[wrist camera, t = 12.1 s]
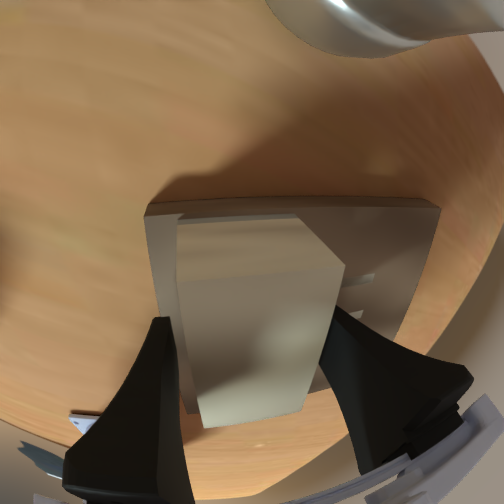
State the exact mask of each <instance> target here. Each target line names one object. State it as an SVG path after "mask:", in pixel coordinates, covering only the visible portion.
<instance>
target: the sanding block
mask: <svg viewBox="0 0 504 504" xmlns="http://www.w3.org/2000/svg"><path fill="white" fill-rule="evenodd" d="M344 269H345V264H344V263H343V262H342V261H341V260H340V259H339V258H338V257H337V256H336V255H335V254H334V253H333V252H332V251H331V250H330V249H329V248H328V247H327V246H326V245H325V244H324V243H323V242H322V241H321V240H320V239H319V238H318V237H317V236H316V235H315V234H314V233H313V232H312V231H311V230H310V229H309V228H308V227H307V226H306V225H305V224H304V223H303V222H302V221H301V220H300V219H299V218H298V217H297V216H296V215H295V214H270V215H248V216H229V217H212V218H196V219H182V220H177V254H176V282H177V290H178V297H179V304H180V311H181V317H182V324H183V330H184V336H185V341H186V347H187V352H188V358H189V363H190V368H191V373H192V378H193V383H194V387H195V392H196V397H197V401H198V405H199V410H200V414H201V418H202V422H203V426H204V428H212V427H220V426H228V425H235V424H241V423H247V422H253V421H259V420H264V419H269V418H274V417H278V416H283V415H287V414H291V413H295V412H299V411H301V409H302V407H303V404H304V401H305V399H306V396H307V393H308V391H309V388H310V385H311V382H312V379H313V377H314V374H315V371H316V368H317V365H318V362H319V359H320V356H321V352H322V349H323V346H324V343H325V340H326V336H327V333H328V330H329V326H330V323H331V319H332V316H333V312H334V309H335V305H336V301H337V297H338V294H339V290H340V286H341V282H342V278H343V274H344Z"/></svg>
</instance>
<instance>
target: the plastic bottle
mask: <svg viewBox="0 0 504 504" xmlns="http://www.w3.org/2000/svg"><path fill="white" fill-rule="evenodd" d="M265 1H266V3H267V5H268V6H269V7H270V9H271V10H272V12H273V13H274V15H275V16H276V17H277V18H278V19H279V20H280V21H281V23H282V24H283V25H284V26H285V27H286V28H287V29H289V30H290V31H291V32H292V33H294V34H295V35H296V36H297V37H298V38H300V39H302V40H303V41H305V42H306V43H308V44H310V45H311V46H313V47H315V48H318V49H320V50H322V51H324V52H327V53H331V54H334V55H337V56H345V57H356V58H370V59H374V58H385V57H388V56H391V55H394V54H397V53H400V52H404V51H407V50H410V49H414V48H416V47H419V46H421V45H423V44H426V43H428V42H430V41H431V40H434V39H439V38H445V37H451V36H457V35H464V34H472V33H481V32H493V31H504V0H265Z"/></svg>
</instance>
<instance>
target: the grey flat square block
mask: <svg viewBox="0 0 504 504" xmlns="http://www.w3.org/2000/svg"><path fill="white" fill-rule="evenodd" d="M440 212H441V208H440V207H438V206H436V205H434V204H433V203H431V202H429V201H427V200H425V199H413V198H392V197H361V196H276V197H244V198H222V199H204V200H189V201H175V202H163V203H151V204H148V206H147V209H146V212H145V214H144V223H145V231H146V238H147V245H148V252H149V258H150V264H151V270H152V276H153V281H154V287H155V292H156V297H157V302H158V307H159V312H160V316H161V317H165V316H170V320H171V325H172V330H173V334H174V339H175V344H176V348H177V356H178V366H179V389H180V393H181V396H182V399H183V402H184V406H185V409H186V412H187V414H195V413H200V410H199V405H198V401H197V397H196V392H195V387H194V383H193V378H192V373H191V368H190V363H189V358H188V352H187V347H186V341H185V336H184V330H183V324H182V317H181V311H180V304H179V297H178V290H177V282H176V254H177V220H182V219H196V218H212V217H229V216H248V215H270V214H295V215H296V216H297V217H298V218H299V219H300V220H301V221H302V222H303V223H304V224H305V225H306V226H307V227H308V228H309V229H310V230H311V231H312V232H313V233H314V234H315V235H316V236H317V237H318V238H319V239H320V240H321V241H322V242H323V243H324V244H325V245H326V246H327V247H328V248H329V249H330V250H331V251H332V252H333V253H334V254H335V255H336V256H337V257H338V258H339V259H340V260H341V261H342V262H343V263H344V264H345V269H344V274H343V278H342V282H341V286H340V290H339V294H338V297H337V301H336V305H337V306H339V307H340V308H341V309H343V310H344V311H346V312H347V313H348V314H350V315H351V316H353V317H354V318H355V319H357V320H358V321H360V322H361V323H363V324H364V325H366V326H367V327H369V328H370V329H372V330H374V331H375V332H377V333H379V334H380V335H382V336H384V337H385V338H387V339H389V340H391V341H393V340H394V338H395V336H396V334H397V332H398V330H399V328H400V325H401V323H402V321H403V319H404V317H405V314H406V312H407V310H408V307H409V305H410V303H411V300H412V298H413V295H414V293H415V290H416V288H417V285H418V282H419V280H420V277H421V274H422V271H423V269H424V266H425V263H426V260H427V257H428V254H429V251H430V248H431V244H432V241H433V238H434V234H435V231H436V227H437V224H438V220H439V216H440ZM328 388H331V386H330V384H329V382H328V381H327V379H326V377H325V375H324V373H323V371H322V370H321V368H320V366H319V364H318V365H317V368H316V371H315V374H314V377H313V379H312V382H311V385H310V388H309V391H308V393H307V394H309V393H313V392H317V391H321V390H324V389H328Z"/></svg>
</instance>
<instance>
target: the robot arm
mask: <svg viewBox="0 0 504 504" xmlns="http://www.w3.org/2000/svg"><path fill="white" fill-rule="evenodd" d="M318 364H319V366H320V368H321V370H322V371H323V373H324V375H325V377H326V379H327V381H328V382H329V384H330V386H331V388H332V390H333V392H334V394H335V396H336V398H337V401H338V403H339V406H340V408H341V411H342V413H343V416H344V419H345V422H346V425H347V428H348V431H349V434H350V437H351V441H352V444H353V447H354V451H355V456H356V460H357V464H358V469H359V472H360V474H361V476H360V477H358V478H355V479H353V480H351V481H348V482H346V483H343V484H341V485H338V486H335V487H333V488H330V489H327V490H325V491H322V492H319V493H316V494H313V495H309V496H306V497H303V498H300V499H296V500H293V501H289V502H285V503H281V504H334V503H337V502H339V501H342V500H344V499H347V498H349V497H351V496H354V495H356V494H358V493H360V492H362V491H365V490H367V489H369V488H371V487H373V486H375V485H377V484H379V483H381V482H383V481H385V480H387V479H388V478H391V477H392V476H394V475H396V474H398V473H399V474H398V476H397V479H396V480H395V481H393V482H391V483H389V484H388V485H386V486H384V487H382V488H380V489H379V490H377V491H375V492H373V493H371V494H369V495H367V496H365V498H364V499H365V501H366V503H367V504H437V503H438V502H440V501H441V500H442V499H443V498H444V497H445V496H446V495H447V494H448V493H449V492H450V491H451V490H453V488H454V487H456V486H457V485H458V484H459V483H460V481H461V480H462V479H463V478H464V477H465V476H466V475H467V474H468V473H469V472H470V471H471V470H472V469H473V468H474V466H475V465H476V464H477V463H478V462H479V461H480V460H481V458H482V457H483V456H484V455H485V454H486V452H487V451H488V450H489V449H490V447H491V446H492V445H493V444H494V442H495V441H496V440H497V439H498V438H499V437H500V435H501V434H502V433H503V432H504V418H503V416H502V415H501V413H500V412H499V411H498V409H497V408H496V406H495V405H494V404H493V402H492V401H491V400H490V398H489V397H488V396H487V395H486V394H483V395H482V396H481V397H480V398H479V399H478V400H476V401H475V402H474V403H473V404H472V405H471V406H470V407H469V408H468V409H467V410H466V411H465V412H464V413H463V415H461V416H460V415H459V414H458V412H457V410H458V409H459V405H458V404H457V401H458V400H459V399H460V398H461V397H462V396H463V395H464V394H465V392H466V391H467V390H468V389H469V387H470V386H471V385H472V383H473V381H474V377H473V376H472V375H471V374H470V372H469V371H468V370H467V368H466V367H465V366H464V365H460V364H455V363H450V362H445V361H441V360H437V359H434V358H431V357H428V356H425V355H422V354H419V353H417V352H414V351H412V350H409V349H407V348H405V347H403V346H401V345H399V344H397V343H395V342H393V341H391V340H389V339H387V338H385V337H384V336H382V335H380V334H379V333H377V332H375V331H374V330H372V329H370V328H369V327H367V326H366V325H364V324H363V323H361V322H360V321H358V320H357V319H355V318H354V317H353V316H351V315H350V314H348V313H347V312H346V311H344V310H343V309H341V308H340V307H339V306H337V305H335V309H334V312H333V316H332V319H331V323H330V326H329V330H328V333H327V336H326V340H325V343H324V346H323V349H322V352H321V356H320V359H319V362H318ZM69 420H70V421H71V422H72V423H73V424H74V425H75V426H76V427H77V428H78V429H79V430H80V431H81V432H82V433H83V434H84V435H83V436H82V437H81V438H80V439H79V440H78V441H77V442H76V443H75V444H74V445H73V446H72V447H71V448H70V449H69V450H68V451H67V452H66V453H65V459H64V463H63V476H62V487H63V488H64V489H65V490H66V491H67V492H69V493H71V494H73V495H75V496H77V497H79V498H81V499H83V504H195V501H194V497H193V493H192V489H191V484H190V480H189V475H188V471H187V466H186V460H185V455H184V449H183V443H182V437H181V430H180V418H179V366H178V356H177V348H176V344H175V339H174V334H173V330H172V325H171V320H170V316H165V317H155V318H154V319H153V320H152V323H151V326H150V329H149V331H148V334H147V336H146V339H145V341H144V343H143V346H142V348H141V350H140V352H139V354H138V356H137V359H136V361H135V362H134V364H133V366H132V368H131V370H130V372H129V374H128V376H127V377H126V379H125V381H124V383H123V384H122V386H121V387H120V389H119V391H118V392H117V394H116V395H115V397H114V398H113V399H112V401H111V402H110V404H109V405H108V407H107V408H106V409H105V411H104V412H103V413H102V414H101V416H89V415H77V414H69ZM34 504H68V503H66V502H63V501H60V500H57V499H53V498H49V497H46V496H43V495H40V494H37V493H35V494H34Z"/></svg>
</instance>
